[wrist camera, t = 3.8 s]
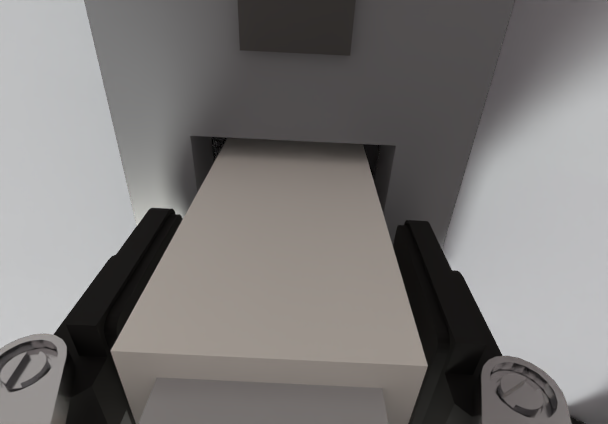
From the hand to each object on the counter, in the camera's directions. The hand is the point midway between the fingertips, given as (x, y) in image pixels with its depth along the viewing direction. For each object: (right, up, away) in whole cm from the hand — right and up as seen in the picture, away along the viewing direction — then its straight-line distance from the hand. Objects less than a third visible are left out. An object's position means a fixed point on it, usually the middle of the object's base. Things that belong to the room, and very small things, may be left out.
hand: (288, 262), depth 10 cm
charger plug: (0, +2, +3) cm, 3 cm away
